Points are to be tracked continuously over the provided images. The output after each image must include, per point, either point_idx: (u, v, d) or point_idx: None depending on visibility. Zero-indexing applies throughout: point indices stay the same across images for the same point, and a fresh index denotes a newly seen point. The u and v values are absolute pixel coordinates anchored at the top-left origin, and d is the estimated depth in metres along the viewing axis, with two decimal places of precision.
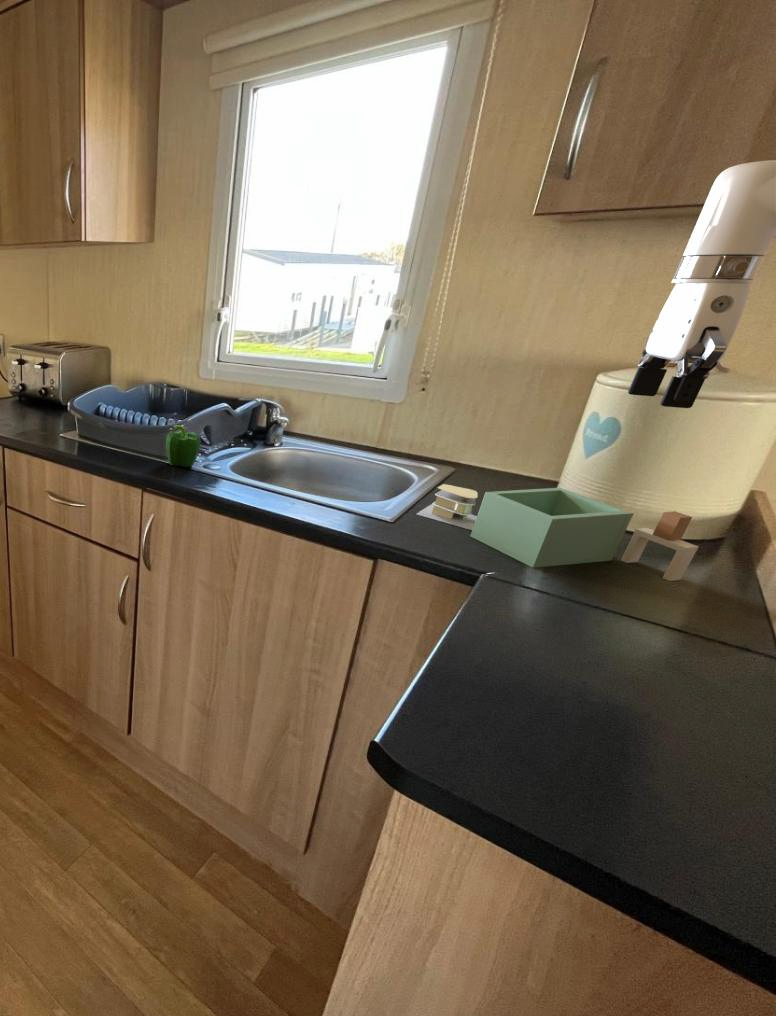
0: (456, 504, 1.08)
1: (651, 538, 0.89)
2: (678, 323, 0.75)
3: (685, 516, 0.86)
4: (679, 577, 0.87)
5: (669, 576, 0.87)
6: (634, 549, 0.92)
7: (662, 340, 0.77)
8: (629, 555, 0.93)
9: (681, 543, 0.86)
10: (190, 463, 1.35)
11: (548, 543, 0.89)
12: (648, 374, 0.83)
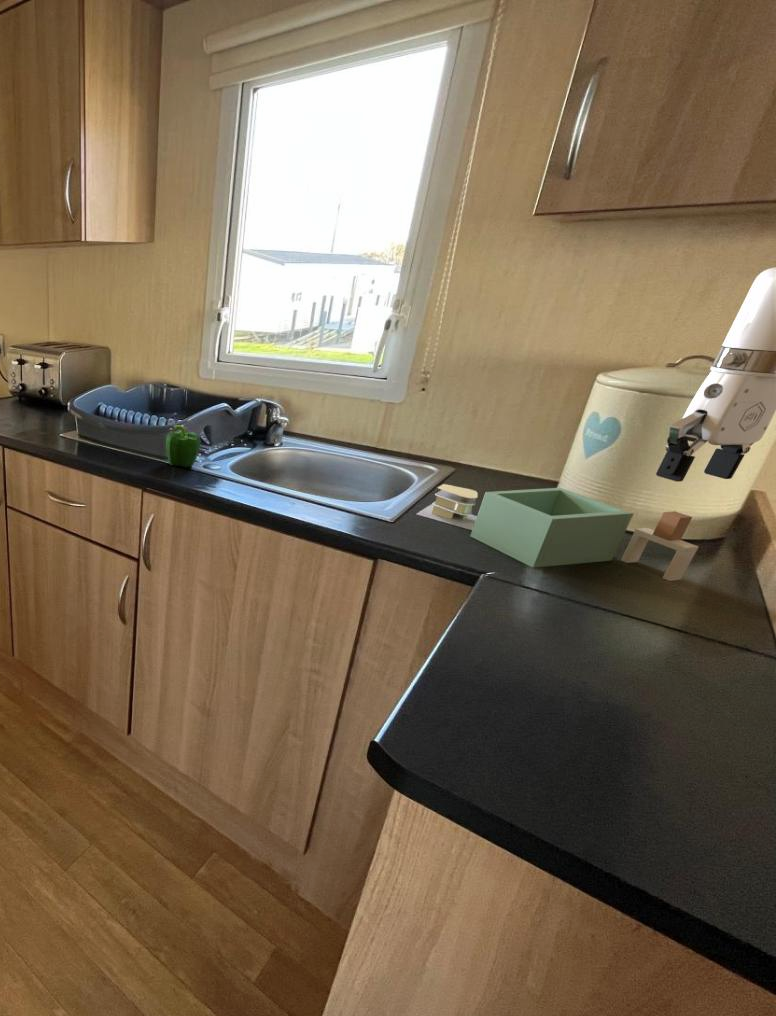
0: (456, 504, 1.08)
1: (651, 538, 0.89)
2: None
3: (685, 516, 0.86)
4: (679, 577, 0.87)
5: (669, 576, 0.87)
6: (634, 549, 0.92)
7: None
8: (629, 555, 0.93)
9: (681, 543, 0.86)
10: (190, 463, 1.35)
11: (548, 543, 0.89)
12: (722, 456, 0.84)
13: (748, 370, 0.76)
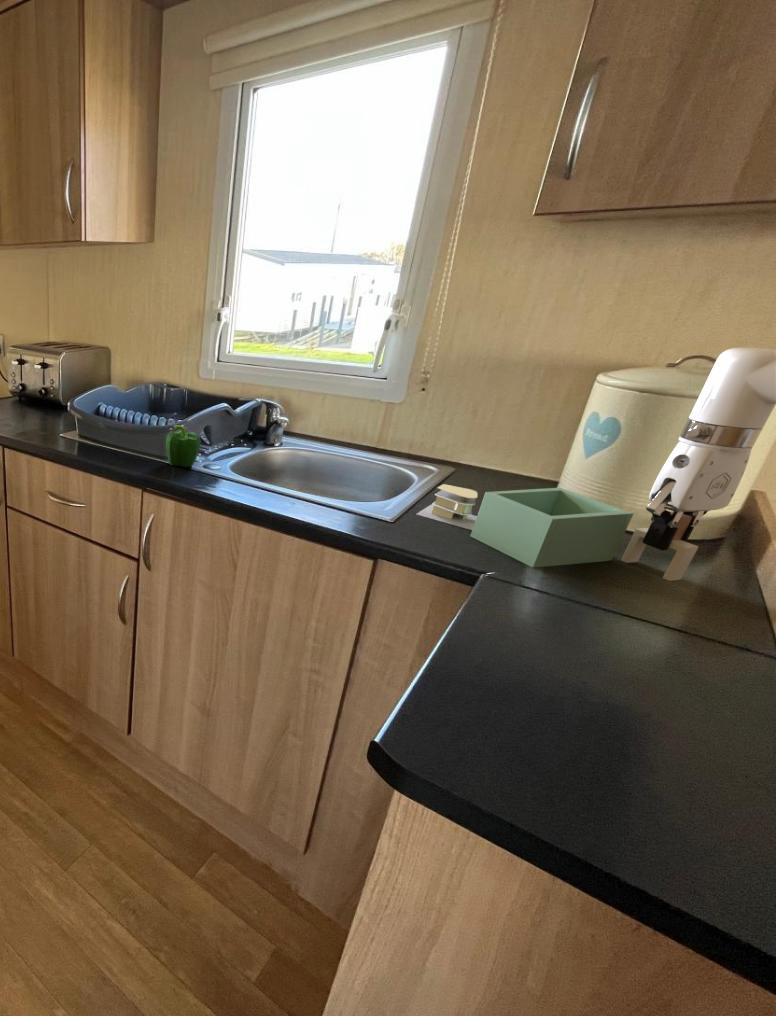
0: (456, 504, 1.08)
1: None
2: None
3: (685, 516, 0.86)
4: (679, 577, 0.87)
5: (669, 576, 0.87)
6: (634, 549, 0.92)
7: None
8: (629, 555, 0.93)
9: (681, 543, 0.86)
10: (190, 463, 1.35)
11: (548, 543, 0.89)
12: None
13: (713, 444, 0.80)
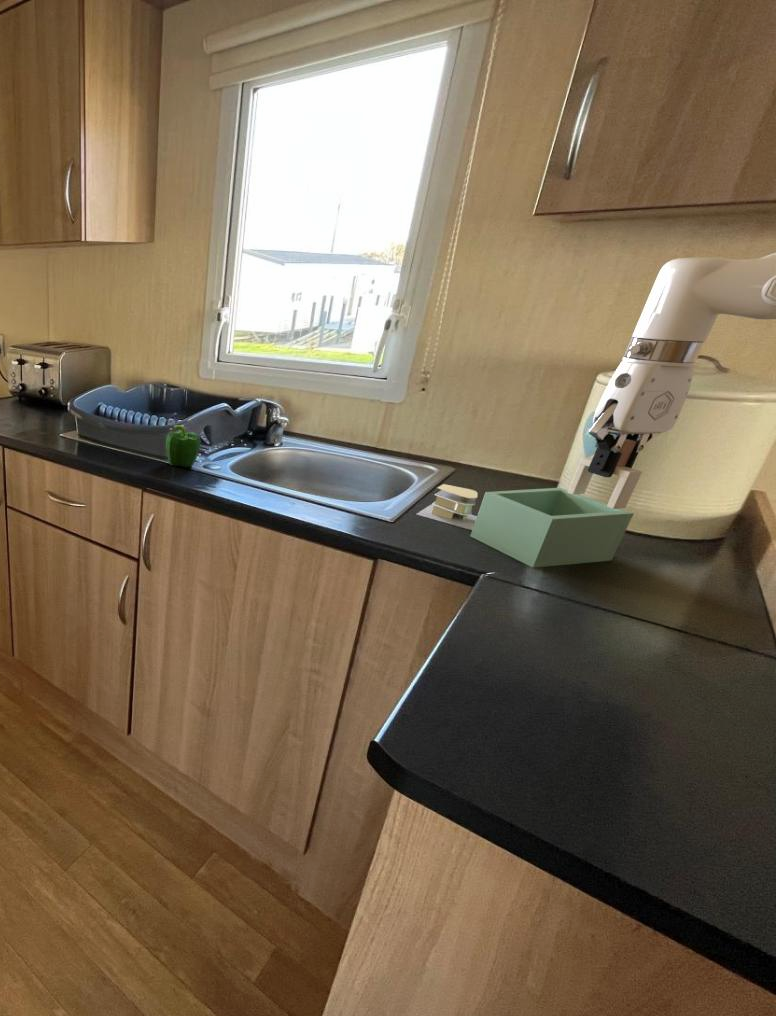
0: (456, 504, 1.08)
1: None
2: None
3: (629, 441, 0.83)
4: (623, 505, 0.85)
5: (613, 503, 0.85)
6: (580, 480, 0.89)
7: None
8: (575, 486, 0.90)
9: (624, 469, 0.84)
10: (190, 463, 1.35)
11: (548, 543, 0.89)
12: None
13: (654, 359, 0.77)
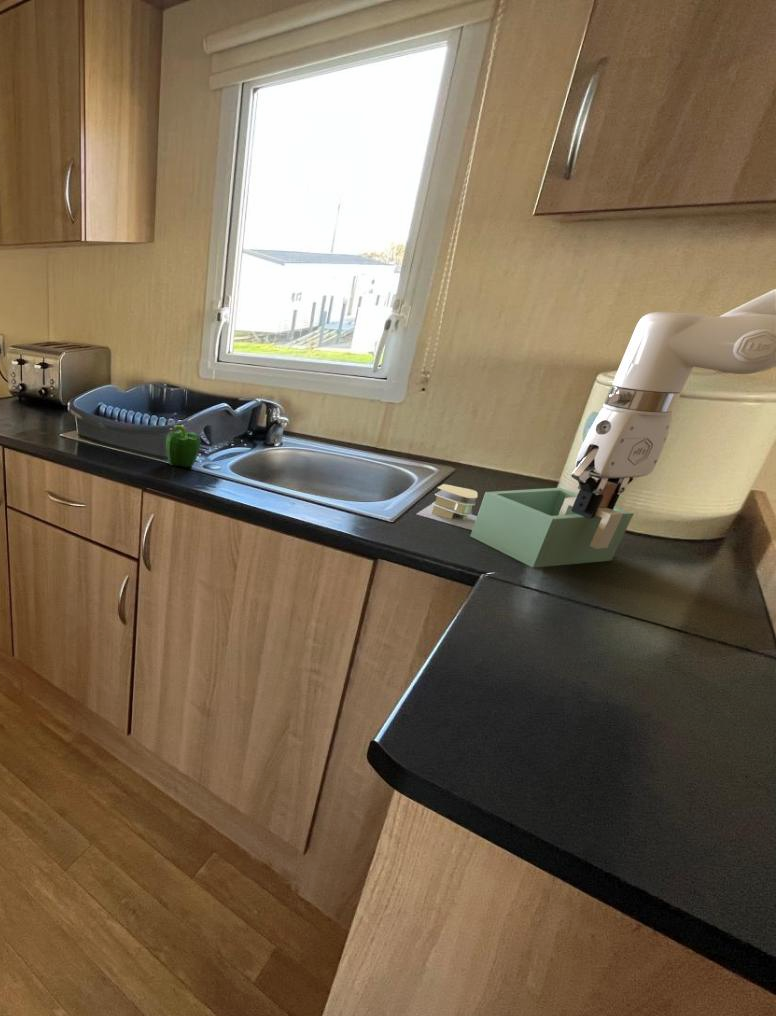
0: (456, 504, 1.08)
1: None
2: None
3: (610, 483, 0.86)
4: (605, 545, 0.88)
5: (595, 543, 0.87)
6: None
7: None
8: None
9: (606, 510, 0.86)
10: (190, 463, 1.35)
11: (548, 543, 0.89)
12: None
13: (632, 408, 0.80)
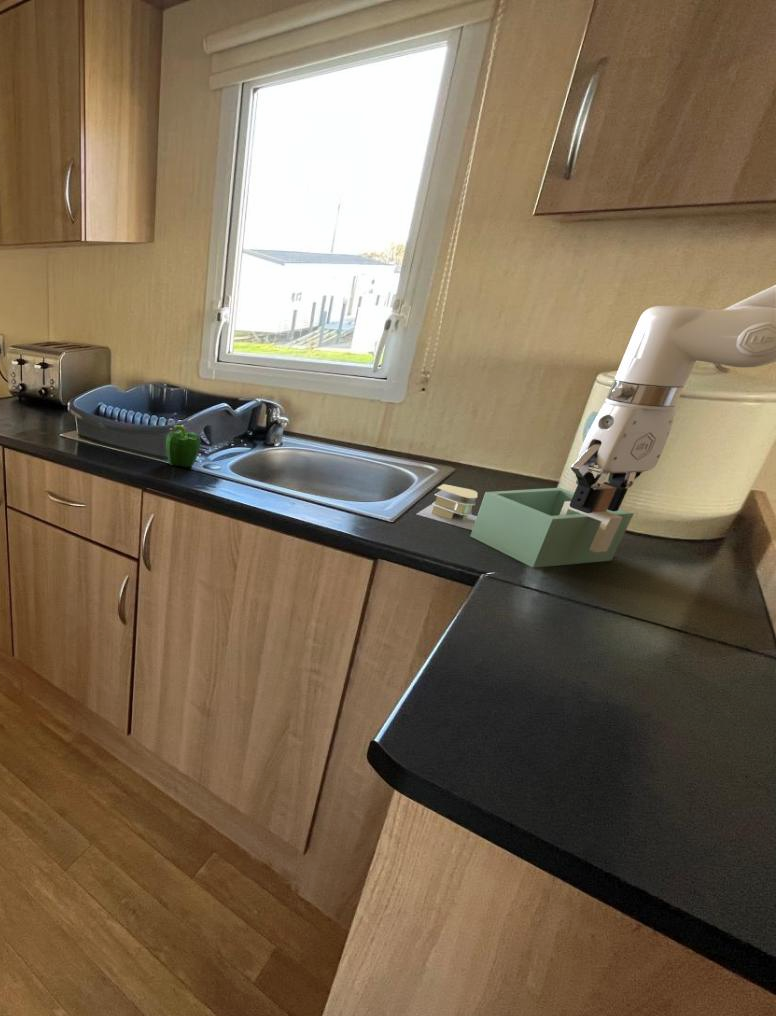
0: (456, 504, 1.08)
1: (578, 510, 0.90)
2: None
3: (609, 487, 0.86)
4: (604, 548, 0.88)
5: (595, 547, 0.88)
6: None
7: None
8: None
9: (605, 514, 0.87)
10: (190, 463, 1.35)
11: (548, 543, 0.89)
12: None
13: (635, 403, 0.79)
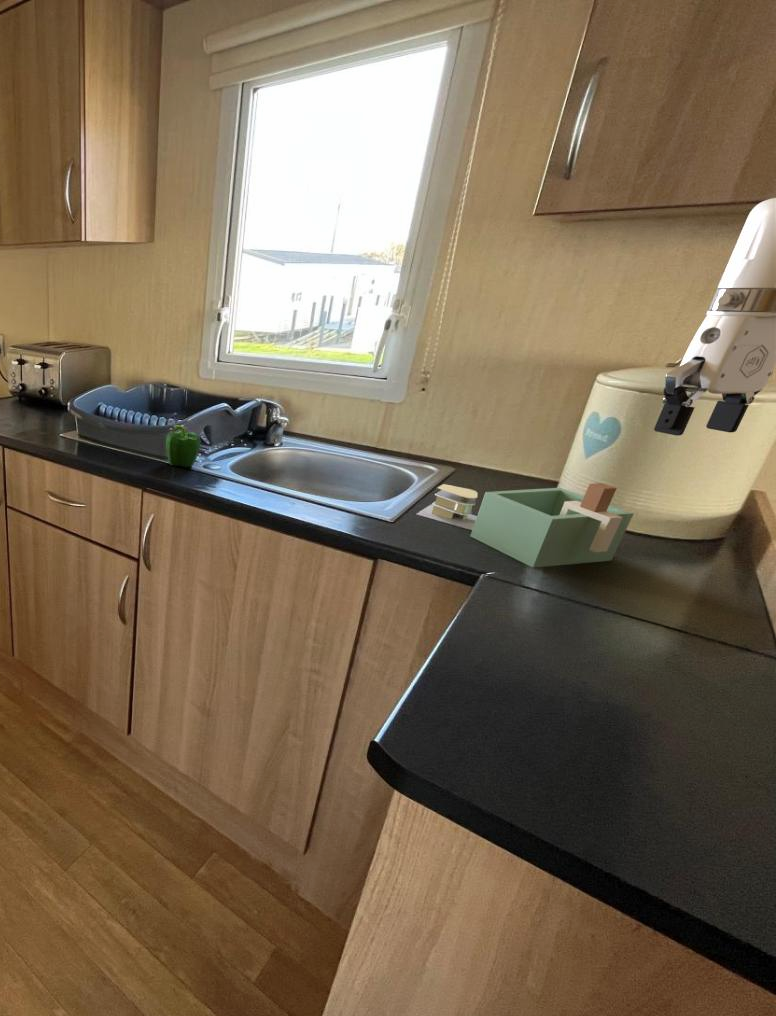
0: (456, 504, 1.08)
1: (578, 510, 0.90)
2: None
3: (609, 487, 0.86)
4: (604, 548, 0.88)
5: (595, 547, 0.88)
6: None
7: None
8: None
9: (605, 514, 0.87)
10: (190, 463, 1.35)
11: (548, 543, 0.89)
12: (724, 408, 0.79)
13: (747, 310, 0.70)
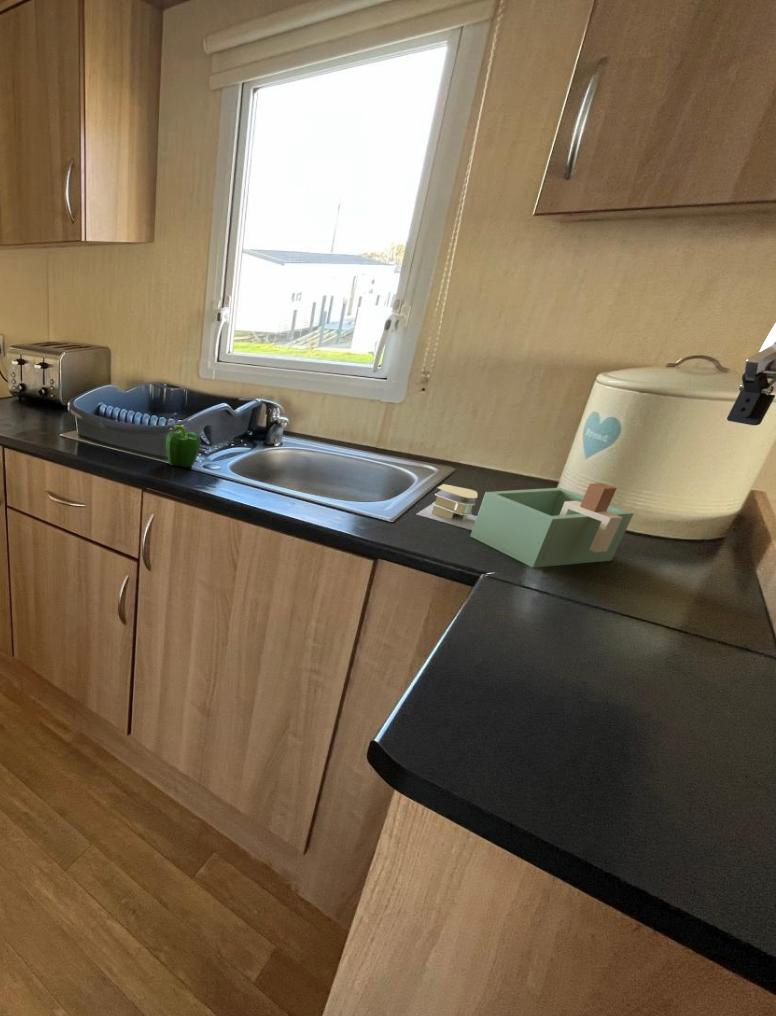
0: (456, 504, 1.08)
1: (578, 510, 0.90)
2: None
3: (609, 487, 0.86)
4: (604, 548, 0.88)
5: (595, 547, 0.88)
6: None
7: None
8: None
9: (605, 514, 0.87)
10: (190, 463, 1.35)
11: (548, 543, 0.89)
12: None
13: None
